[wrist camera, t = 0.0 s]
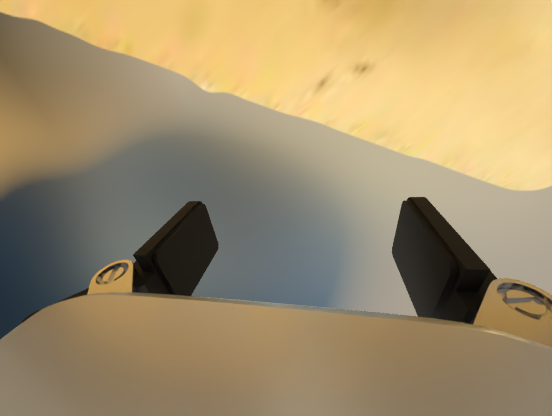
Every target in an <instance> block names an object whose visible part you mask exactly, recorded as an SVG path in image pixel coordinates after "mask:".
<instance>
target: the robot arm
mask: <svg viewBox="0 0 552 416" xmlns="http://www.w3.org/2000/svg"><path fill="white" fill-rule="evenodd" d="M217 250H218V241H217V238H216V235H215V232H214V230H213V227H212V224H211V220H210V217H209V214H208V211H207V208H206V206H205V204H203V203H202V202H200V201H189V202H188V203H187V204H186V205H185V206H184V207H183V208H181V209H180V210H179V211H178V212H177V213H176V214H175V215H174V216H173V217H172V218H171V219H170V220H169V221H168V222H167V223H166V224H165V225H164V226H163V227H162V228H161V229H160V230H158V231H157V232H156V233H155V234H154V235H153V236H152V237H151V238H150V239H149V240H148V241H147V242H146V243H145V244H144V245H143V246H142V247H141V248H140V249H139V250H138V251H136V252H135V254H133V256H134V257H135V259H136V262H135V263H134V264H133V262H132V261H130V260H120V261H117V262H114V263H112V264H109V265H107V266H106V267H104V268H102V269H101V270H100V271H99V272H98V273H96V275H95V276H94V277H93V278H92V280H91V283H90V286H89V288H88V289H86V290H83V291H81V292H79V293H77V294H74V295H72V296H70V297H68V298H66V299H63V300H61V301H59V302H57V303H55V304H52V305H50V306H48V307H46V308H44V309H42V310H38V311H36V312H34V313H32V314H31V315H29V316H28V317H27V318H25V319H24V320H23V321H22V323H21V324H20V325H19V326H18V327H16V328H15V329H14V330H12V331H11V332H10V333H9V334H7V335H6V336H5V337H3V338H2V339H1V340H0V416H552V295H551V294H549V293H547V292H546V291H544V290H542V289H540V288H538V287H536V286H534V285H531V284H529V283H525V282H523V281H520V280H514V279H508V278H499V279H497V278H496V277H495V276H494V274H493V273H492V272H491V271H490V269H489V268H488V267H487V265H486V264H485V263H484V262H483V261H482V260H481V259H480V258H479V257H478V255H477V254H476V253H475V252H474V251H473V250H472V249H471V248H470V246H469V245H468V244H467V243H466V242H465V241H464V240H463V239H462V238H461V236H460V235H459V234H458V233H457V232H456V231H455V230H454V229H453V228H452V226H451V225H450V224H449V223H448V222H447V221H446V220H445V219H444V217H443V216H442V215H441V214H440V213H439V212H438V211H437V210H436V208H435V207H434V206H433V205H432V204H431V203H430V202H429V201H428V200H427V198H425V197H409V198H408V199H407V201H403V203H402V206H401V210H400V215H399V220H398V224H397V229H396V233H395V238H394V242H393V247H392V254H393V258H394V260H395V262H396V265H397V267H398V270H399V272H400V274H401V277H402V279H403V282H404V284H405V286H406V289H407V291H408V294H409V295H410V298H411V301H412V303H413V305H414V308H415V310H416V313H417V315H418V317H416V316H408V315H398V314H389V313H379V312H368V311H357V310H346V309H335V308H324V307H312V306H302V305H290V304H279V303H267V302H255V301H244V300H231V299H220V298H207V297H194V296H191V295H192V293H193V291H194V289H195V288H196V286H197V284H198V283H199V281H200V279H201V278H202V276H203V274H204V272H205V271H206V269H207V267H208V266H209V264H210V262H211V260H212V259H213V257H214V255H215V254H216V252H217Z"/></svg>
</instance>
